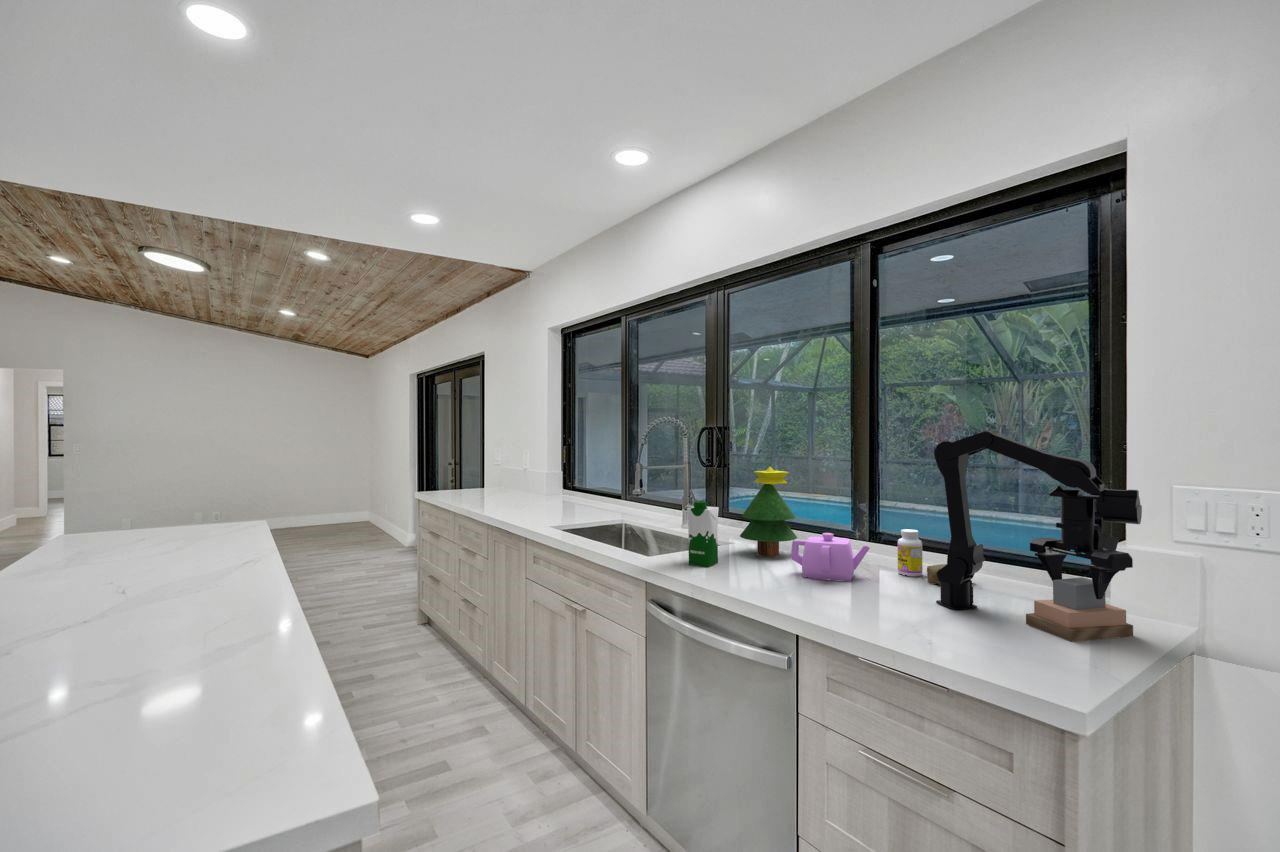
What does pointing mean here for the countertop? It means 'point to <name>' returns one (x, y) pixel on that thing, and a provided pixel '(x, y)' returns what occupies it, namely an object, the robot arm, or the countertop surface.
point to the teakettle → (827, 557)
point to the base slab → (1078, 630)
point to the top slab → (1080, 615)
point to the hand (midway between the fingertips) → (1078, 593)
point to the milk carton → (703, 534)
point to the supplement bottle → (909, 553)
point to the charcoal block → (1076, 594)
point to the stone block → (934, 573)
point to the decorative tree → (768, 515)
